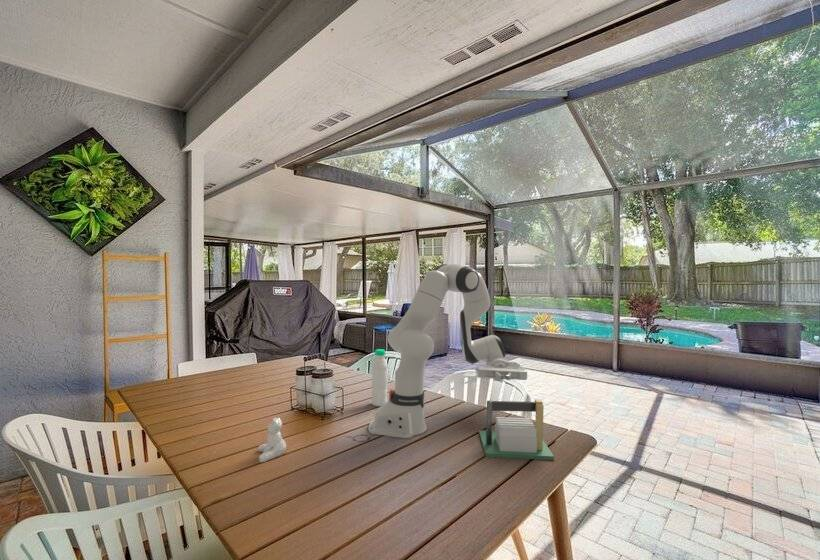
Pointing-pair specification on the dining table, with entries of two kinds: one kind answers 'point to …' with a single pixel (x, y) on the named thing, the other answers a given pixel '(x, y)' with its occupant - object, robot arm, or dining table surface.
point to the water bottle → (379, 379)
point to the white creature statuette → (273, 442)
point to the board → (504, 454)
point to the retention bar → (504, 407)
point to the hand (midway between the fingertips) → (504, 377)
